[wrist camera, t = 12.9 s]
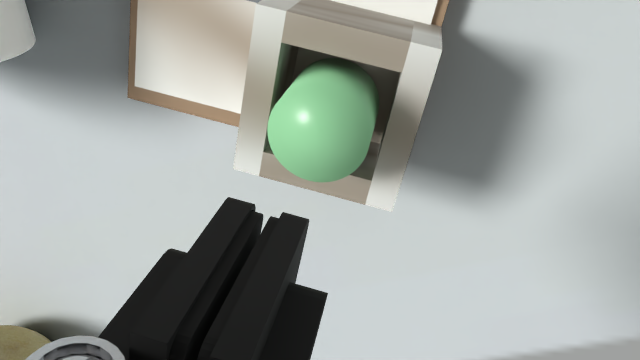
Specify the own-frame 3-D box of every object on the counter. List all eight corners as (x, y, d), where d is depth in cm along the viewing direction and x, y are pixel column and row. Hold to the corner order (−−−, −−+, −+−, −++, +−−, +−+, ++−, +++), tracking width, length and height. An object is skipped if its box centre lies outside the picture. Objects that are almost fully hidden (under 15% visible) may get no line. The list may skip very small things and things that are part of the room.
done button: (299, 48, 19) (275, 73, 16) (389, 70, 19) (381, 100, 16) (284, 131, 21) (260, 167, 18) (367, 153, 20) (356, 193, 18)
